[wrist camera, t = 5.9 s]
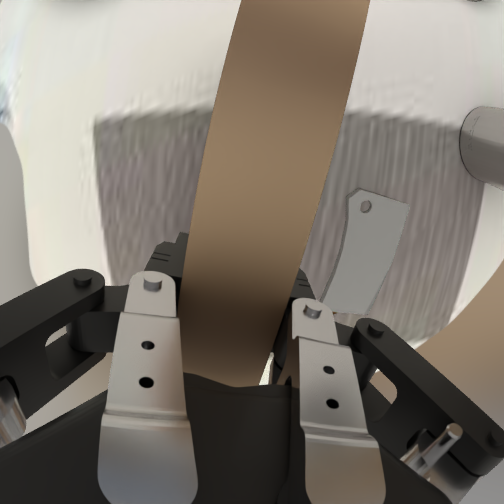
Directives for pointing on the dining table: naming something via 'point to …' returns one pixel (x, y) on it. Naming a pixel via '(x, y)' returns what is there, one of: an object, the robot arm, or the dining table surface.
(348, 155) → the dining table surface
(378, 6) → the dining table surface
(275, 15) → the curved tan slat
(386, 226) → the kitchen cleaver
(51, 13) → the dining table surface
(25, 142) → the dining table surface
